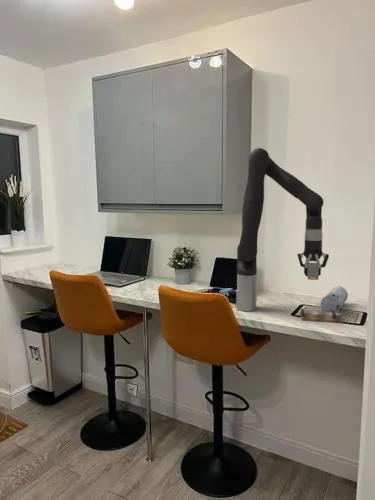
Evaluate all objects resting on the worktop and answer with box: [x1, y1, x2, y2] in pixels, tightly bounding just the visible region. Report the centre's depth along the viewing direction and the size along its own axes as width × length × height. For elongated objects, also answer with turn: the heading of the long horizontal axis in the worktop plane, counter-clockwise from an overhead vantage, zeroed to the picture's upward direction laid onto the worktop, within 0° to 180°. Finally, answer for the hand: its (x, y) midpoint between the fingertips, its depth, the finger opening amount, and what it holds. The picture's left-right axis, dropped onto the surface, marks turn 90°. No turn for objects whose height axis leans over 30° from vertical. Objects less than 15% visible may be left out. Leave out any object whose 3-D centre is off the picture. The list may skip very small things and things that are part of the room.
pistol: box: [218, 288, 237, 297], centre depth 202 cm, size 4×16×15 cm
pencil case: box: [320, 285, 349, 313], centre depth 174 cm, size 21×9×10 cm, turn 146°
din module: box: [306, 262, 320, 281], centre depth 166 cm, size 4×9×6 cm, turn 167°
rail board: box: [300, 308, 345, 324], centre depth 160 cm, size 17×9×3 cm, turn 76°
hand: (312, 275), depth 167 cm, fingers closed on din module, 4 cm apart
